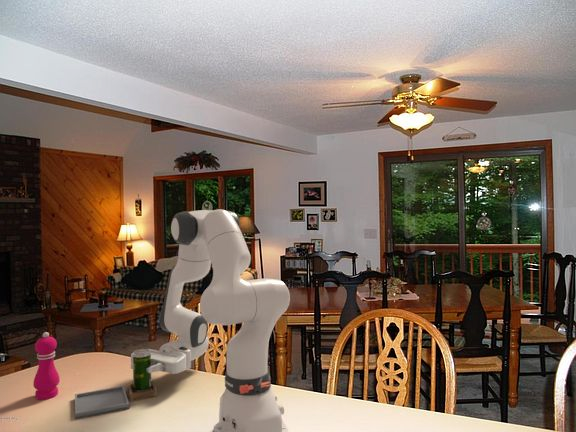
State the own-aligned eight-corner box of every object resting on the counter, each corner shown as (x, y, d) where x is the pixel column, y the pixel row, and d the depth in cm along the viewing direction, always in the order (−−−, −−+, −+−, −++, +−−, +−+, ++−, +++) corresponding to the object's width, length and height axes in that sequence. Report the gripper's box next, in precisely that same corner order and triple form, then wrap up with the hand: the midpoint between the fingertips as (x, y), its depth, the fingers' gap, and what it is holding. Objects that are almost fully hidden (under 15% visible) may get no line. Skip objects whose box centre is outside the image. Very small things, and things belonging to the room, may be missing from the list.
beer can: (151, 384, 143) (150, 347, 142) (151, 391, 138) (150, 353, 137) (133, 387, 141) (132, 349, 141) (133, 393, 136) (132, 355, 136)
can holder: (157, 395, 138) (157, 389, 138) (130, 401, 134) (130, 394, 134) (153, 386, 145) (152, 380, 145) (127, 391, 141) (127, 384, 141)
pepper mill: (48, 401, 134) (47, 336, 134) (28, 399, 136) (26, 334, 135) (65, 391, 141) (63, 329, 141) (45, 389, 143) (44, 328, 142)
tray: (129, 408, 129) (128, 403, 129) (75, 419, 123) (75, 413, 123) (123, 390, 142) (123, 385, 142) (74, 399, 136) (74, 394, 136)
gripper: (149, 342, 155) (116, 353, 143) (193, 350, 146) (163, 363, 133) (149, 359, 156) (117, 373, 144) (194, 369, 146) (163, 384, 134)
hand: (139, 368), depth 138 cm, fingers closed on beer can, 5 cm apart
